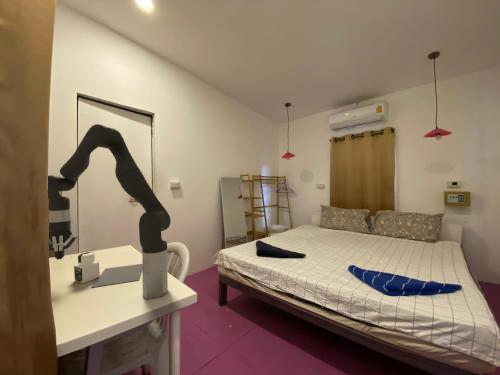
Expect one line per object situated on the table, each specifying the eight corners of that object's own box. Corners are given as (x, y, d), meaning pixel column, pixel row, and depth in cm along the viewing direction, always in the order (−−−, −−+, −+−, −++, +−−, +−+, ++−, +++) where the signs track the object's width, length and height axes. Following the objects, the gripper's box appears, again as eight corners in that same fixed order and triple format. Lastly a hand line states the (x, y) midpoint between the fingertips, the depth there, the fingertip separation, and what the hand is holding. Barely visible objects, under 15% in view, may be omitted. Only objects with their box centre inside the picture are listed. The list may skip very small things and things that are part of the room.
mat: (139, 280, 95) (139, 279, 95) (91, 287, 88) (91, 287, 88) (143, 264, 116) (143, 263, 116) (105, 269, 109) (105, 268, 109)
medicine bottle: (74, 280, 95) (73, 254, 95) (92, 274, 102) (90, 250, 101) (82, 283, 92) (80, 256, 92) (100, 277, 98) (98, 251, 98)
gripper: (35, 222, 87) (35, 263, 87) (74, 220, 92) (74, 259, 92) (44, 219, 94) (45, 258, 94) (80, 218, 99) (81, 254, 99)
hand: (59, 258), depth 93 cm, fingers closed
